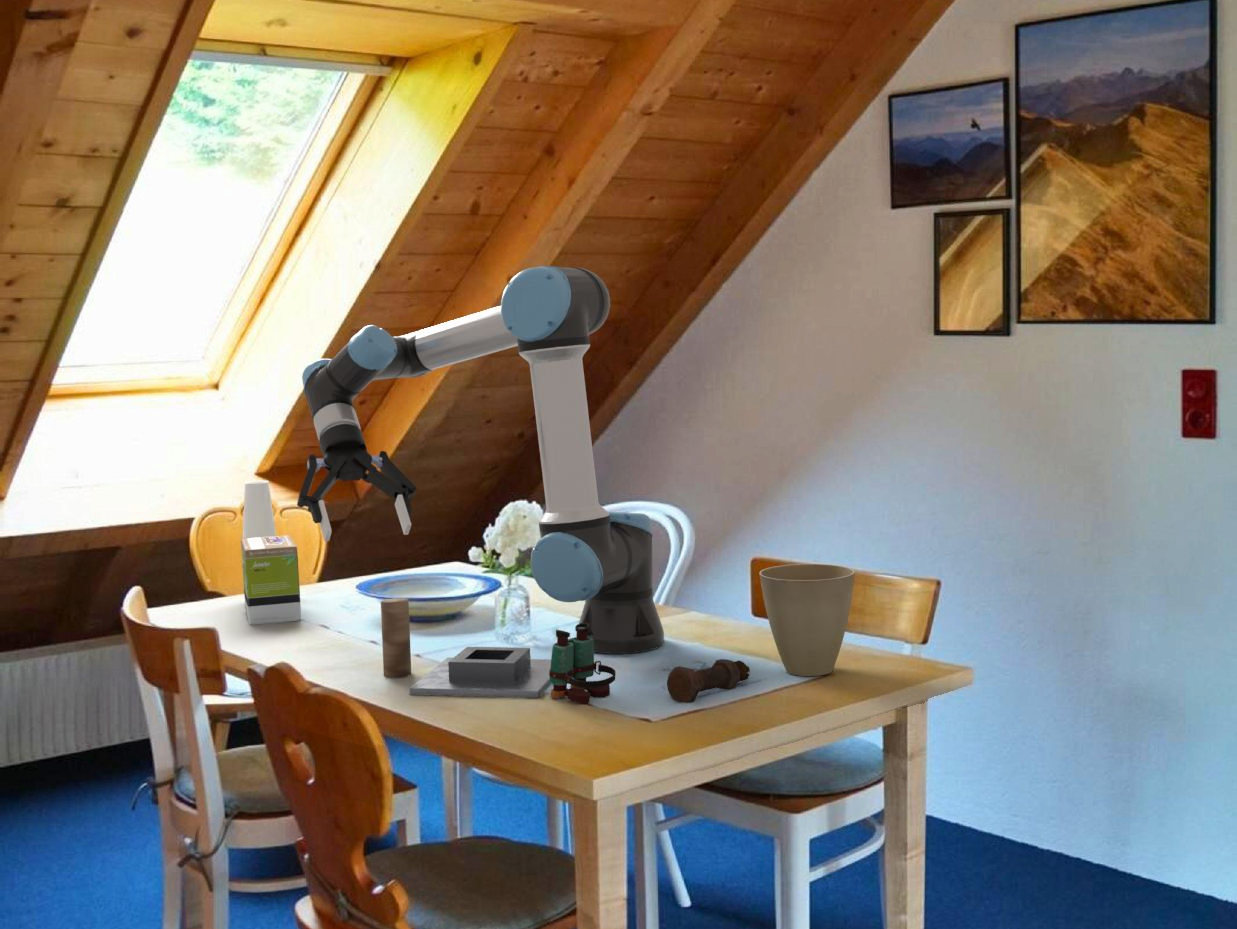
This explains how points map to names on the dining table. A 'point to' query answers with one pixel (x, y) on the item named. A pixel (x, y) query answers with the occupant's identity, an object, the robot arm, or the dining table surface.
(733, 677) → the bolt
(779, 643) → the plant pot
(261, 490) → the grey tapered column
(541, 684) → the socket
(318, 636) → the dining table surface
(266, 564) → the tea box
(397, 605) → the peg
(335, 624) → the dining table surface
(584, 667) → the binoculars
